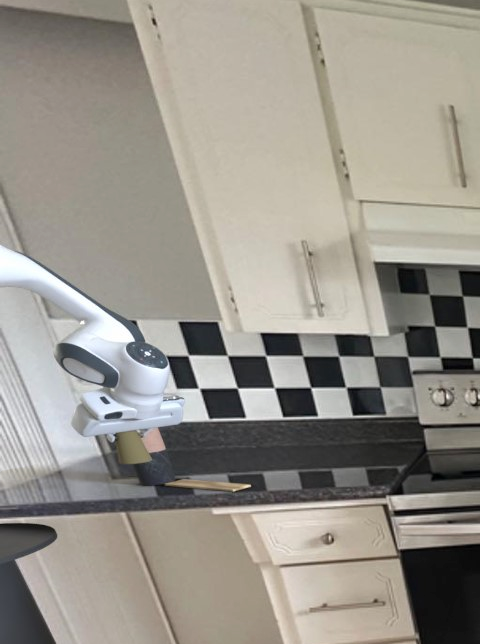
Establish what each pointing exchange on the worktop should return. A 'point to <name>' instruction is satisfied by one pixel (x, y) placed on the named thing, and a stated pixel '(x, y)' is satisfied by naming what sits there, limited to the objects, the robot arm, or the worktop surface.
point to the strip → (208, 485)
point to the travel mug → (155, 462)
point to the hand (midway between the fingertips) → (125, 437)
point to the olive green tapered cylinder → (131, 448)
